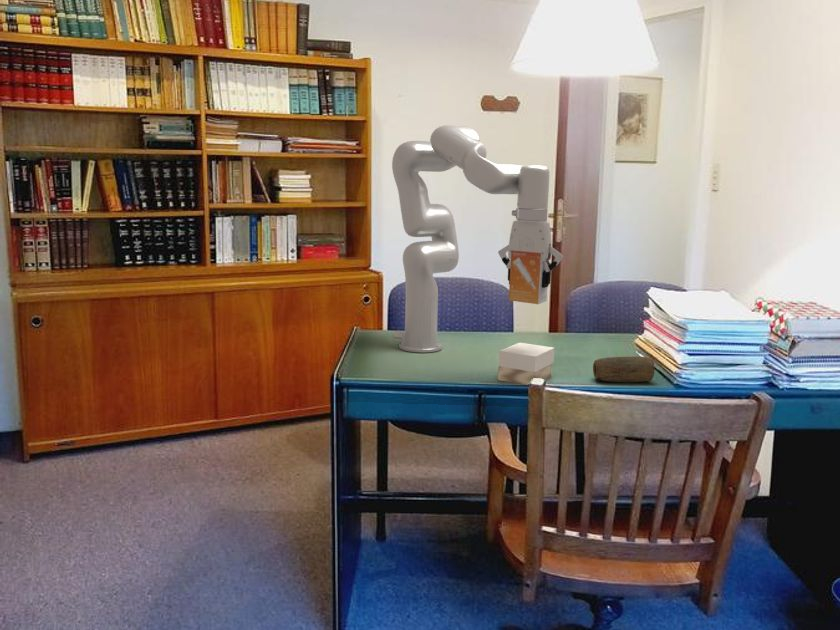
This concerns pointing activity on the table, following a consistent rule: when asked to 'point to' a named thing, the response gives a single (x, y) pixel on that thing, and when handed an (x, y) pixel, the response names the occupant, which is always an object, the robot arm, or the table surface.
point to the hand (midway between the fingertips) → (528, 285)
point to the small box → (526, 277)
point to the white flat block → (526, 357)
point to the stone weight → (624, 369)
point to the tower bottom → (522, 374)
